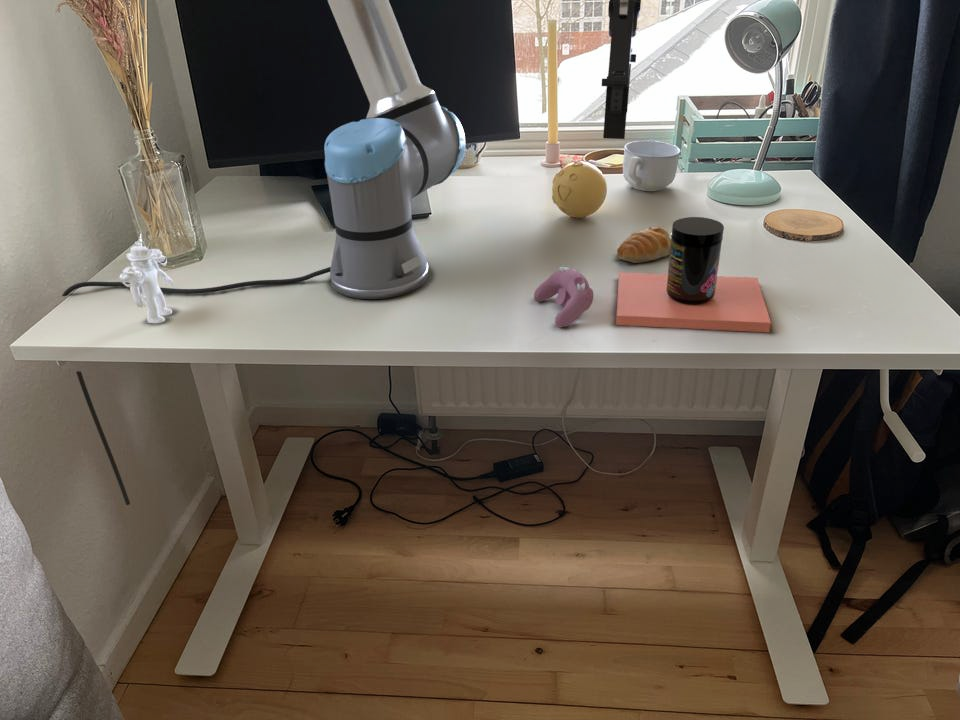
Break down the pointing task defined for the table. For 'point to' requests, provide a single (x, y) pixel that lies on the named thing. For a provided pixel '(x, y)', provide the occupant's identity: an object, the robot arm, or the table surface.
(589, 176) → the stress ball
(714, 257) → the supplement container
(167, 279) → the hat wearing toy figure
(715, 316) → the foam mat
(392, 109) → the robot arm
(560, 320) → the video game controller
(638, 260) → the pastry
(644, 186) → the teacup
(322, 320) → the table surface
